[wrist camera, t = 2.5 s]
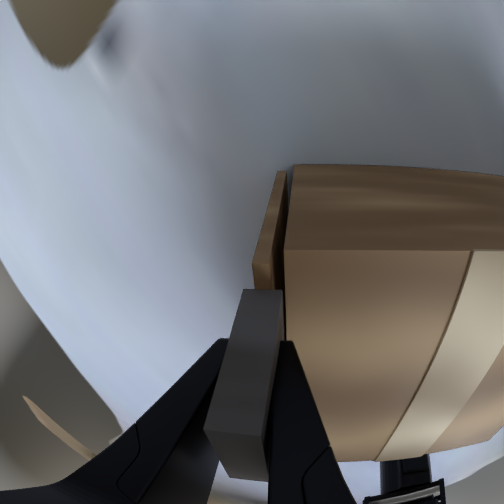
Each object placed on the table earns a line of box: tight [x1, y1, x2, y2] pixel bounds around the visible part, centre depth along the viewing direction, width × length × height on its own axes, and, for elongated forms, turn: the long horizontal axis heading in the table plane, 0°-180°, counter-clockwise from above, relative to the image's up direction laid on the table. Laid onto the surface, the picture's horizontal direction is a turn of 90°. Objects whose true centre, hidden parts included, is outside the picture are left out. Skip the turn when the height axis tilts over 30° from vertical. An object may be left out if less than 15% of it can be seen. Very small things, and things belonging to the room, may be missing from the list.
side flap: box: [203, 171, 289, 482], centre depth 13 cm, size 14×1×12 cm, turn 6°
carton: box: [284, 164, 504, 462], centre depth 13 cm, size 14×13×8 cm
